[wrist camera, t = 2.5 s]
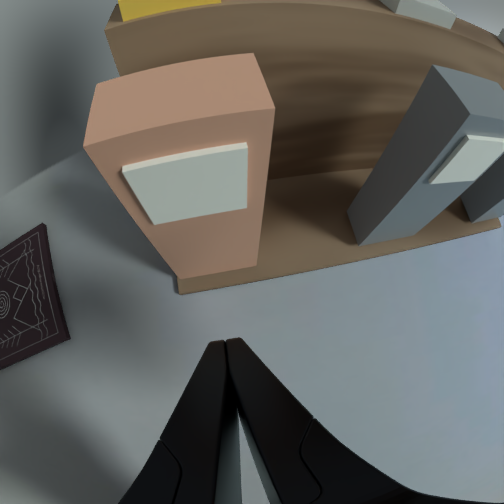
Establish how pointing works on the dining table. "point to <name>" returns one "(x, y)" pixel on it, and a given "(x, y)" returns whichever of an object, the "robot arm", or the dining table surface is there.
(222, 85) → the terracotta key
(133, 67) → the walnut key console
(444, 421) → the dining table surface
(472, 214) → the key
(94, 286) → the dining table surface
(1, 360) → the chocolate bar
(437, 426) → the dining table surface
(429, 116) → the middle slate key
